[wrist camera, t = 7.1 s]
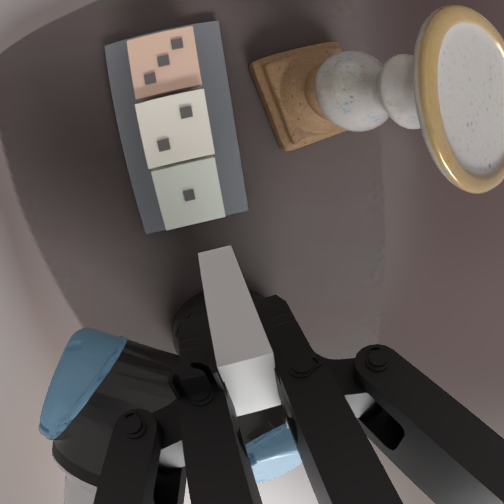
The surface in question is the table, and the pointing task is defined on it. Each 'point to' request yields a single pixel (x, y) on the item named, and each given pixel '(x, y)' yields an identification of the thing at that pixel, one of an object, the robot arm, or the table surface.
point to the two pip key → (175, 128)
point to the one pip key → (188, 192)
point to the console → (217, 112)
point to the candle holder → (400, 94)
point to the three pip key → (164, 63)
